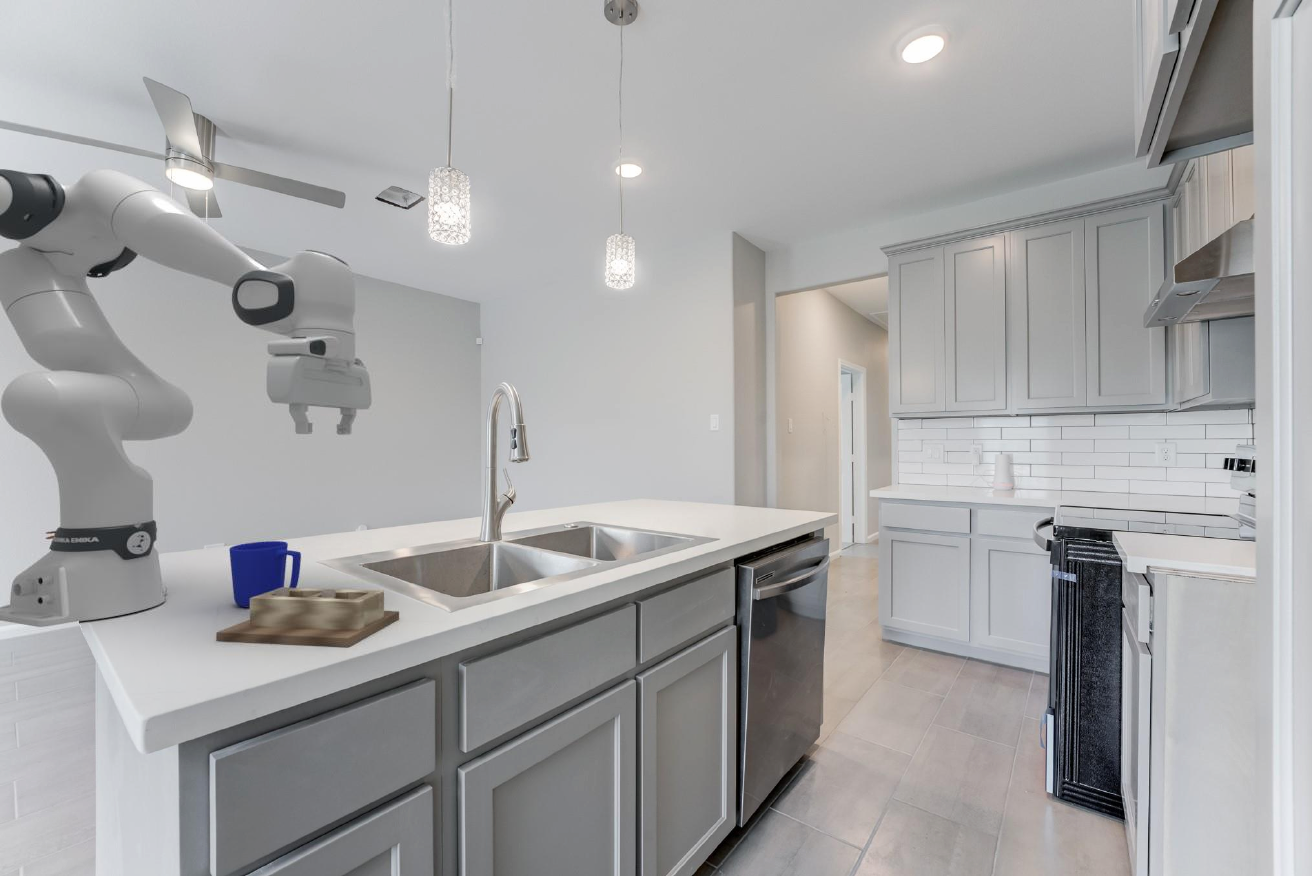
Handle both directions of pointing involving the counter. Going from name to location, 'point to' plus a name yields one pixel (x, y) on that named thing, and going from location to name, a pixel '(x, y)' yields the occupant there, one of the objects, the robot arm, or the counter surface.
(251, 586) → the mug
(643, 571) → the counter surface
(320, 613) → the two-compartment stone tray
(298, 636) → the board
